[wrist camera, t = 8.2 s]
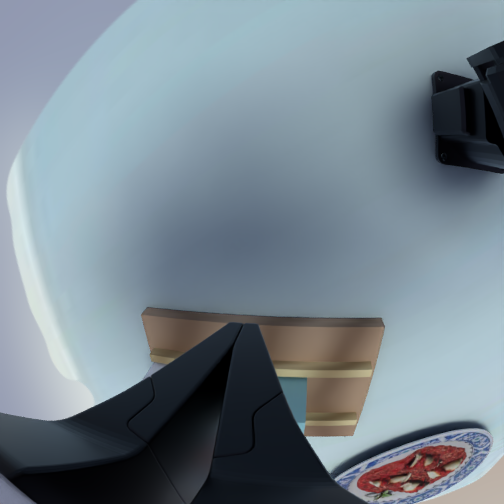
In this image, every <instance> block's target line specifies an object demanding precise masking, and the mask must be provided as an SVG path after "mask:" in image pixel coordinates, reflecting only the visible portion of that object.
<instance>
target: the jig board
mask: <svg viewBox="0 0 504 504" xmlns="http://www.w3.org/2000/svg"><path fill="white" fill-rule="evenodd" d="M141 317H142V321H143V325H144V329H145V332H146V336H147V340H148V344H149V347H150V351H151V353H150V357H151V361H152V362H157V363H163V364H169V363H170V362H172V361H173V360H175V359H176V358H178V357H179V356H181V355H182V354H184V353H185V352H187V351H188V350H190V349H191V348H193V347H194V346H196V345H197V344H199V343H200V342H202V341H203V340H204V339H206V338H207V337H209V336H210V335H212V334H213V333H215V332H216V331H218V330H219V329H220V328H222V327H223V326H225V325H226V324H228V323H229V322H239V323H243V324H245V323H256V324H258V325H259V327H260V330H261V333H262V335H263V338H264V341H265V344H266V346H267V349H268V352H269V354H270V357H271V360H272V363H273V365H274V368H275V371H276V373H277V376H280V377H307V398H306V422H305V429H304V436H353V434H354V431H355V429H356V426H357V423H358V420H359V417H360V414H361V411H362V408H363V405H364V402H365V399H366V396H367V393H368V390H369V386H370V383H371V379H372V376H373V372H374V369H375V365H376V361H377V358H378V354H379V350H380V346H381V341H382V337H383V333H384V328H385V326H384V323H383V321H382V318H292V317H266V316H246V315H229V314H215V313H201V312H189V311H178V310H168V309H158V308H149V307H147V308H146V309H145V311H144V312H143V313H142V314H141Z"/></svg>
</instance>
